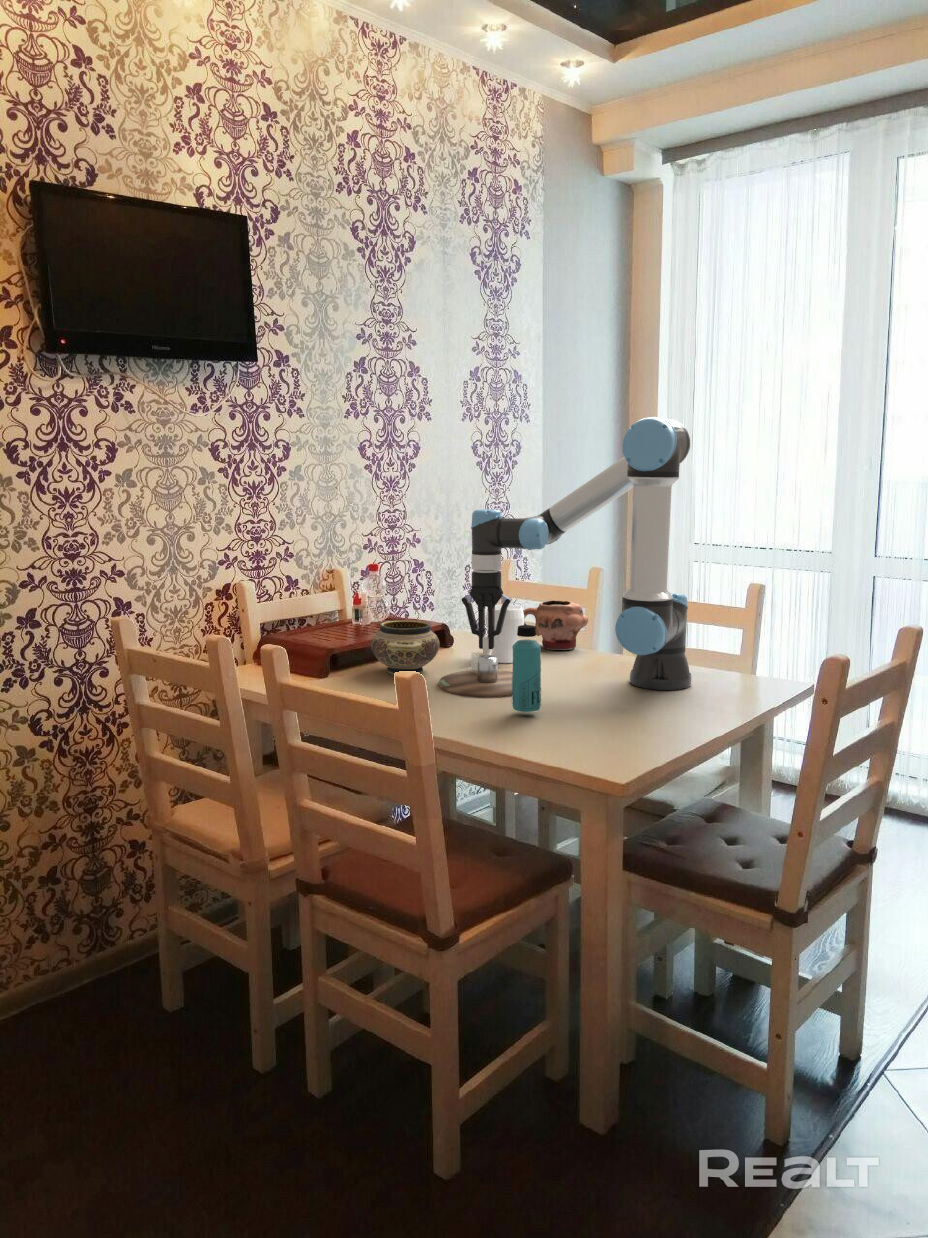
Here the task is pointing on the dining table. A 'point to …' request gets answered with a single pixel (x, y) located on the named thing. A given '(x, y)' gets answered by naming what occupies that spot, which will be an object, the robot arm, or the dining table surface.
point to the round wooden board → (477, 684)
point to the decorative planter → (558, 623)
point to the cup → (507, 632)
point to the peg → (484, 667)
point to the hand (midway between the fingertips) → (486, 661)
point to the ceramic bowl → (405, 645)
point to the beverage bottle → (526, 671)
